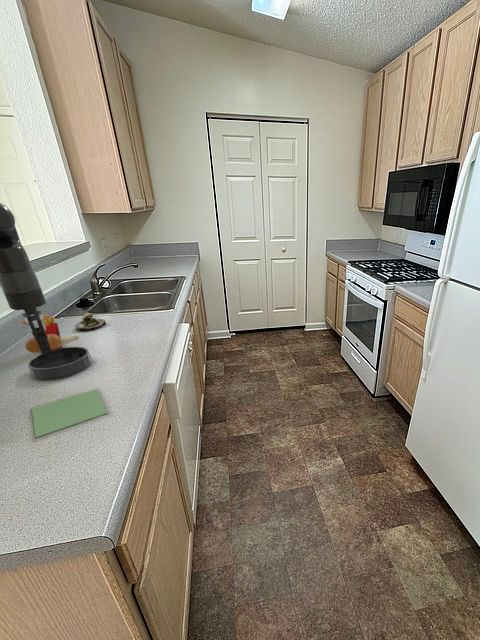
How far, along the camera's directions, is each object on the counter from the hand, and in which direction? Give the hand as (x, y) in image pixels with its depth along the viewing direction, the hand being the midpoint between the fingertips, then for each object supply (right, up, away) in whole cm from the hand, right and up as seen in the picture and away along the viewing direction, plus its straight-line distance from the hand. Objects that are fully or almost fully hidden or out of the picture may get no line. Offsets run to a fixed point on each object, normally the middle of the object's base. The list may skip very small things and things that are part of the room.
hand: (46, 349), depth 91 cm
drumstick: (+1, +1, +1) cm, 2 cm away
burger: (-25, +12, +59) cm, 65 cm away
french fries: (-26, +1, +37) cm, 45 cm away
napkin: (+7, -17, 0) cm, 18 cm away
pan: (-12, -6, +23) cm, 27 cm away
